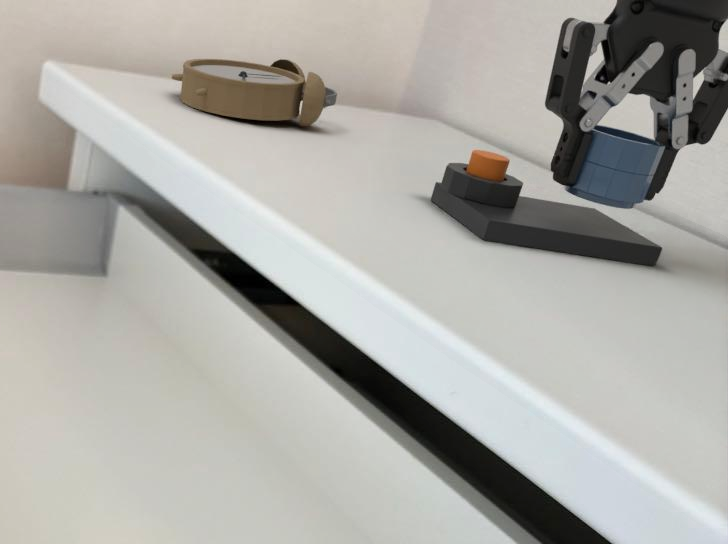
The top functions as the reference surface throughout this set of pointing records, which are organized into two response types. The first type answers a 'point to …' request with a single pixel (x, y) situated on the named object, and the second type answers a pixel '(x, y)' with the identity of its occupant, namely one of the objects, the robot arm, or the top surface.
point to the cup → (617, 168)
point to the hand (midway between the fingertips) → (602, 189)
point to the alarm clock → (254, 90)
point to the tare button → (488, 165)
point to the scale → (536, 219)
